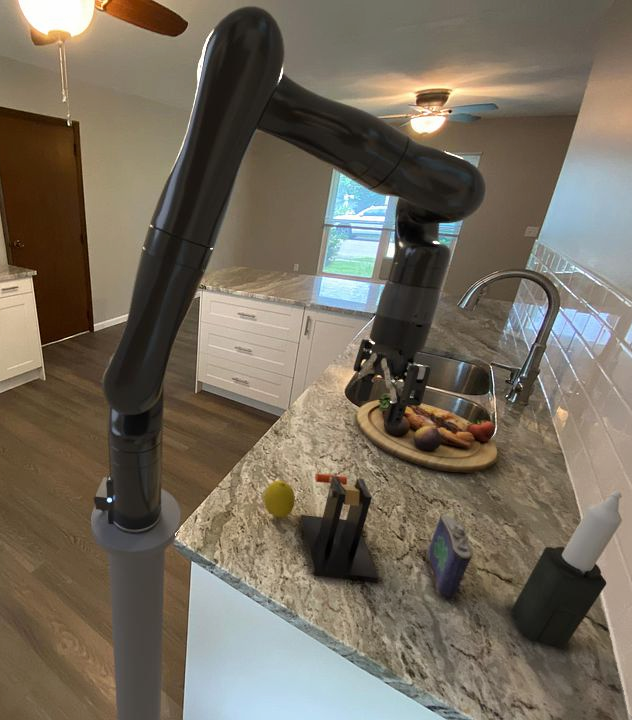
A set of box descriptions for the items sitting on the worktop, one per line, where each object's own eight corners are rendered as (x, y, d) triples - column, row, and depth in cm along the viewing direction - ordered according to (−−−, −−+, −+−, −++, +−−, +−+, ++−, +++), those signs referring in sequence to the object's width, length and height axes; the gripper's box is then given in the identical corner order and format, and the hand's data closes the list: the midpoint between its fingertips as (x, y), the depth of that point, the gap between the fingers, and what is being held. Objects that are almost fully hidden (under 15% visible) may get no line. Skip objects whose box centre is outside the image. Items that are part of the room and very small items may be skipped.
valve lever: (314, 482, 74) (315, 470, 74) (343, 485, 74) (344, 473, 74) (334, 503, 62) (335, 488, 62) (369, 507, 62) (370, 492, 62)
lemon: (294, 526, 72) (301, 493, 69) (265, 526, 72) (270, 492, 69) (286, 505, 77) (292, 472, 74) (259, 504, 77) (264, 472, 74)
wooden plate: (490, 428, 107) (500, 402, 104) (502, 495, 82) (516, 463, 79) (365, 395, 123) (371, 372, 120) (344, 443, 98) (350, 415, 95)
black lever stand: (300, 519, 74) (312, 460, 69) (354, 525, 73) (370, 466, 68) (313, 575, 63) (328, 510, 58) (376, 583, 62) (398, 517, 57)
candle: (524, 638, 55) (605, 501, 45) (508, 605, 59) (579, 474, 50) (568, 651, 53) (662, 512, 44) (548, 616, 58) (629, 483, 48)
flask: (423, 550, 68) (441, 503, 64) (442, 555, 67) (462, 508, 63) (438, 598, 60) (460, 547, 56) (459, 604, 59) (483, 553, 55)
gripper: (355, 303, 64) (333, 392, 69) (412, 324, 51) (378, 433, 56) (397, 306, 65) (372, 394, 70) (464, 328, 51) (426, 435, 57)
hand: (375, 411), depth 63 cm, fingers open, 8 cm apart
